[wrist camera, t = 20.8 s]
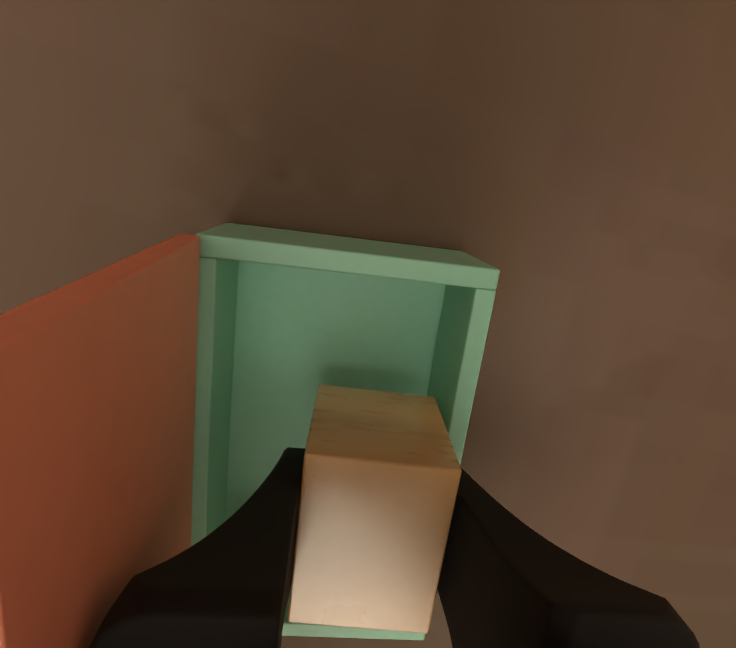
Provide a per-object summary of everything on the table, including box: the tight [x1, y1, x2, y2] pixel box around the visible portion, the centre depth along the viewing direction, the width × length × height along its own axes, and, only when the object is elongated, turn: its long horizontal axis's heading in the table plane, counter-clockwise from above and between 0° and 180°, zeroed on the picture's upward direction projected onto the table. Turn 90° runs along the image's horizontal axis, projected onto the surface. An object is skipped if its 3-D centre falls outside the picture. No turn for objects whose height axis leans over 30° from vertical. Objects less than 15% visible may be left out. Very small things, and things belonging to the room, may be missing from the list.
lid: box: [0, 234, 200, 648], centre depth 9 cm, size 9×13×4 cm
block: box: [287, 384, 462, 633], centre depth 13 cm, size 5×4×4 cm
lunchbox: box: [191, 223, 500, 640], centre depth 16 cm, size 8×13×4 cm, turn 173°
